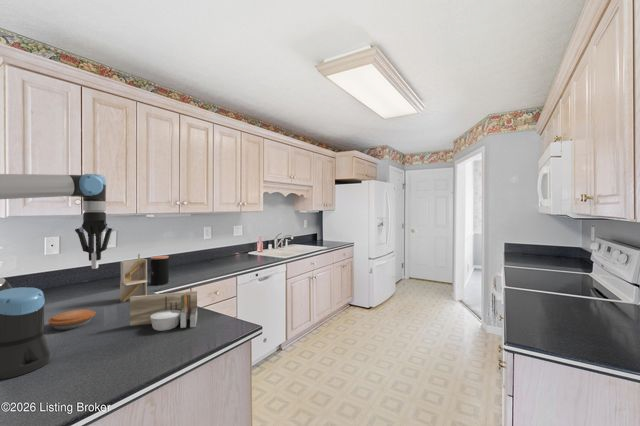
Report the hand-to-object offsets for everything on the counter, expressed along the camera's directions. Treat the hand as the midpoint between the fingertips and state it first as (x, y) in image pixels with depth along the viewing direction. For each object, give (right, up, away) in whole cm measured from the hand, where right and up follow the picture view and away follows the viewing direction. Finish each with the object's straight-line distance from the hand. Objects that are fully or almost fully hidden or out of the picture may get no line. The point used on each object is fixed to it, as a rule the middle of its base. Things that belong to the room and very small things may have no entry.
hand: (95, 268), depth 122 cm
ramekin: (+30, -25, 0) cm, 39 cm away
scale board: (+26, -24, +6) cm, 36 cm away
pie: (-11, -25, +2) cm, 27 cm away
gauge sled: (+36, -24, +2) cm, 44 cm away
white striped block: (+40, -24, +4) cm, 47 cm away
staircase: (-8, -25, +38) cm, 46 cm away
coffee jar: (-13, -24, +73) cm, 78 cm away
